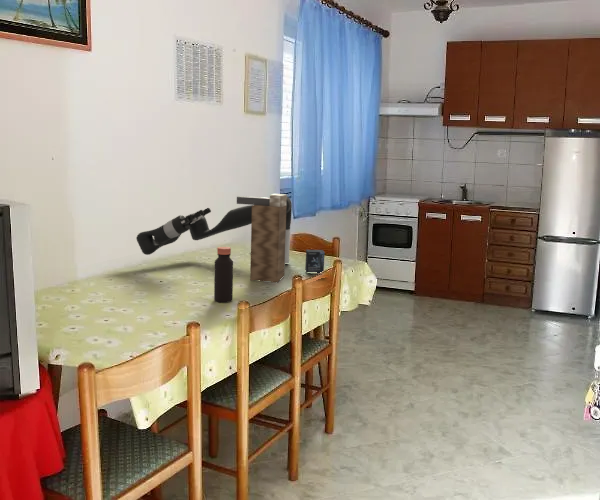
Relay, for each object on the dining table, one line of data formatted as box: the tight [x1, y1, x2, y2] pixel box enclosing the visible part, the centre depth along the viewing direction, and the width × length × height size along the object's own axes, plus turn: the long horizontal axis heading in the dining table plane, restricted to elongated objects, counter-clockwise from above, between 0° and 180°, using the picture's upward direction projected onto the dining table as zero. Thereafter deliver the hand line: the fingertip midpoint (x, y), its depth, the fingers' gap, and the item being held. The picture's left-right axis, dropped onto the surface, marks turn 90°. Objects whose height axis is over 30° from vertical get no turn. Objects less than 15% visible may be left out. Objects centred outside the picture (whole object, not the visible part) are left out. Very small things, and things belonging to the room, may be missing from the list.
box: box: [304, 249, 325, 273], centre depth 291 cm, size 8×6×11 cm
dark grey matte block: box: [236, 195, 270, 206], centre depth 272 cm, size 19×4×3 cm, turn 78°
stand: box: [249, 193, 288, 283], centre depth 274 cm, size 12×12×37 cm
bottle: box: [213, 246, 234, 303], centre depth 237 cm, size 7×7×20 cm
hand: (206, 210), depth 278 cm, fingers open, 8 cm apart
